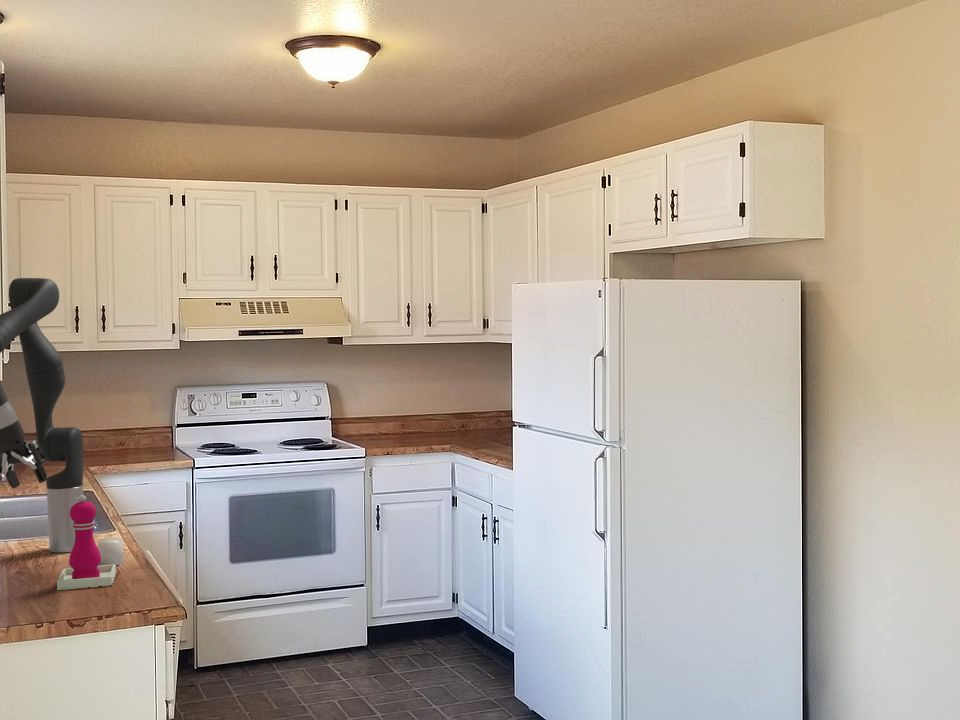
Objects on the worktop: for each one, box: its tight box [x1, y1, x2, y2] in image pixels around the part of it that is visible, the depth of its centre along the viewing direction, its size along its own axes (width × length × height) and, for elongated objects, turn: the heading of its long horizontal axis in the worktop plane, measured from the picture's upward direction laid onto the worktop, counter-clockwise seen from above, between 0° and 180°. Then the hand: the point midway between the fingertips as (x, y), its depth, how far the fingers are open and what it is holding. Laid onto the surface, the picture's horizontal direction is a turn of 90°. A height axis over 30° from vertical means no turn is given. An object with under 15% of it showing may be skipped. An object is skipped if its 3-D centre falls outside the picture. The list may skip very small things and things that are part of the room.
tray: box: [56, 564, 117, 591], centre depth 257 cm, size 13×12×2 cm
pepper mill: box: [68, 494, 101, 579], centre depth 257 cm, size 7×7×20 cm
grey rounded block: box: [97, 538, 124, 566], centre depth 274 cm, size 6×6×6 cm
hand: (29, 484), depth 259 cm, fingers open, 8 cm apart
